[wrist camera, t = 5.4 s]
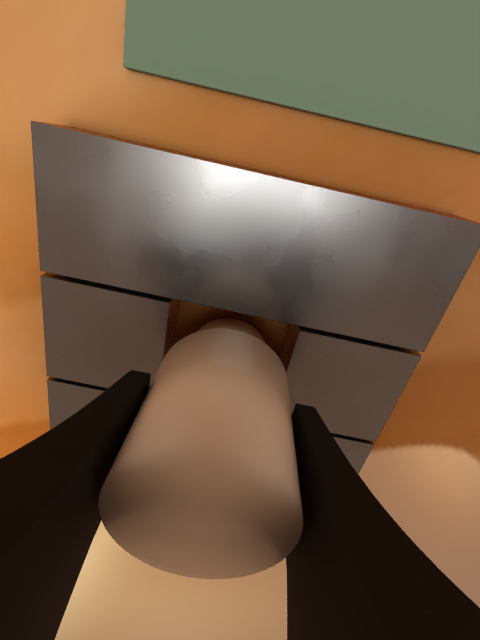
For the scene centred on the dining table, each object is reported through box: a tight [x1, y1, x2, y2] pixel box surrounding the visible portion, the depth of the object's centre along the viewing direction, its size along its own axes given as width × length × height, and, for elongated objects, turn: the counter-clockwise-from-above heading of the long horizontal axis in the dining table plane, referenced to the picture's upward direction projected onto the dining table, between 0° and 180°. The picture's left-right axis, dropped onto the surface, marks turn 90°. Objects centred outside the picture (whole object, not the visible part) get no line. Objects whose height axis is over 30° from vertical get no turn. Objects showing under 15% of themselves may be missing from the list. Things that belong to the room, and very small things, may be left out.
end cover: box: [98, 318, 303, 579], centre depth 11 cm, size 5×5×7 cm
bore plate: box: [31, 121, 480, 474], centre depth 14 cm, size 14×14×2 cm
